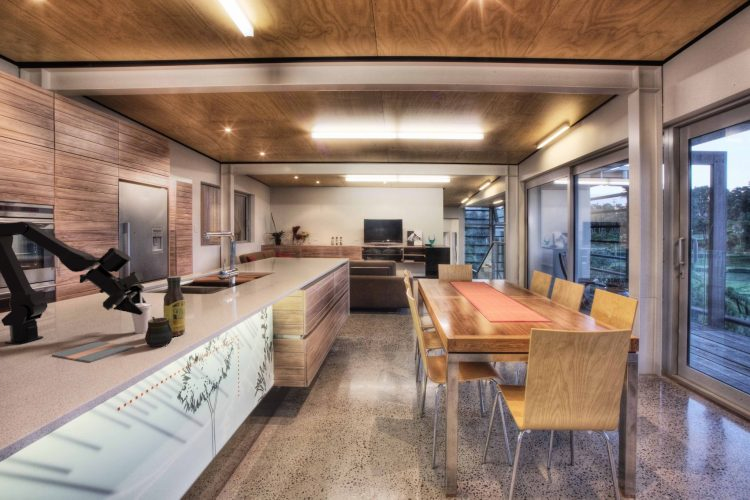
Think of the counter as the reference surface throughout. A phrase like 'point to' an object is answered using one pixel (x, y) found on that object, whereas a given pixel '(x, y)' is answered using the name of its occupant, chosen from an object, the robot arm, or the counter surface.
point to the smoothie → (141, 317)
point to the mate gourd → (158, 332)
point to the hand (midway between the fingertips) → (145, 311)
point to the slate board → (93, 351)
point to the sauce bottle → (175, 306)
